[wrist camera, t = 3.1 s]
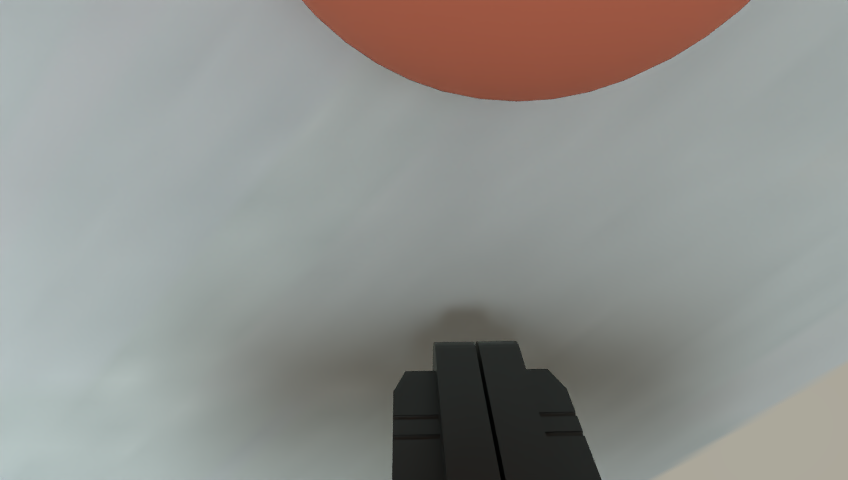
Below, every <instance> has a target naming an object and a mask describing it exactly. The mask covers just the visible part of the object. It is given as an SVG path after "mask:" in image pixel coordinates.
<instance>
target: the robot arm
mask: <svg viewBox="0 0 848 480" xmlns="http://www.w3.org/2000/svg"><path fill="white" fill-rule="evenodd" d="M392 480H601V478H600V475H599V472H598V470H597V467H596V465H595V462H594V459H593V457H592V454H591V451H590V449H589V446H588V444H587V441H586V438H585V436H583V431H582V428H581V425H580V423H579V420H578V418H577V416H575V410H574V407H573V404H572V402H571V399H570V397H569V394H568V391H567V389H566V388H565V387H564V386H563V385H562V384H561V383H560V382H559V380H558V379H557V378H556V377H555V376H554V375H553V374H552V373H551V372H550V371H549V370H548V369H526V368H525V365H524V361H523V358H522V355H521V351H520V348H519V345H518V343H517V342H516V341H491V342H476V344H474V342H434V346H433V371H406V372H405V373H404V375H403V377H402V378H401V380H400V382H399V383H398V385H397V387H396V388H395V390H394V392H393V463H392Z"/></svg>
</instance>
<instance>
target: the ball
mask: <svg viewBox="0 0 848 480" xmlns="http://www.w3.org/2000/svg"><path fill="white" fill-rule="evenodd" d="M302 1H303V2H304V3H305V4H306V5H307V6H308V8H309V9H310V10H311V11H312V12H313V13H314V14H315V15H316V16H317V17H318V18H319V19H320V20H321V21H322V22H323V23H324V24H326V25H327V26H328V27H329V28H330V29H331V30H332V31H334V32H335V33H336V34H337V35H338V36H339V37H340V38H341V39H343V40H344V41H345V42H346V43H348V44H349V45H351V46H352V47H354V48H355V49H357V50H358V51H359V52H361V53H362V54H364V55H365V56H367V57H368V58H370V59H371V60H373V61H374V62H376V63H377V64H379V65H381V66H383V67H385V68H387V69H389V70H391V71H393V72H395V73H397V74H399V75H401V76H403V77H405V78H407V79H409V80H412V81H415V82H418V83H420V84H423V85H426V86H429V87H432V88H435V89H438V90H441V91H444V92H449V93H454V94H459V95H464V96H469V97H474V98H479V99H491V100H505V101H530V100H545V99H556V98H561V97H566V96H571V95H576V94H581V93H586V92H590V91H593V90H596V89H599V88H602V87H605V86H609V85H612V84H615V83H618V82H621V81H624V80H626V79H628V78H630V77H633V76H635V75H637V74H639V73H641V72H643V71H645V70H648V69H650V68H652V67H654V66H656V65H658V64H660V63H662V62H665V61H667V60H669V59H671V58H672V57H674V56H676V55H677V54H679V53H681V52H682V51H684V50H685V49H687V48H689V47H690V46H692V45H694V44H695V43H697V42H698V41H700V40H702V39H703V38H705V37H706V36H708V35H709V34H710V33H711V32H713V31H714V30H715V29H717V28H718V27H719V26H720V25H722V24H723V23H724V22H726V21H727V20H728V19H729V18H731V17H732V16H733V15H735V14H736V13H737V12H738V11H740V10H741V9H742V8H743V7H744V6H745V5H746V4H747V3H748V2H749V1H750V0H302Z"/></svg>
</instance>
